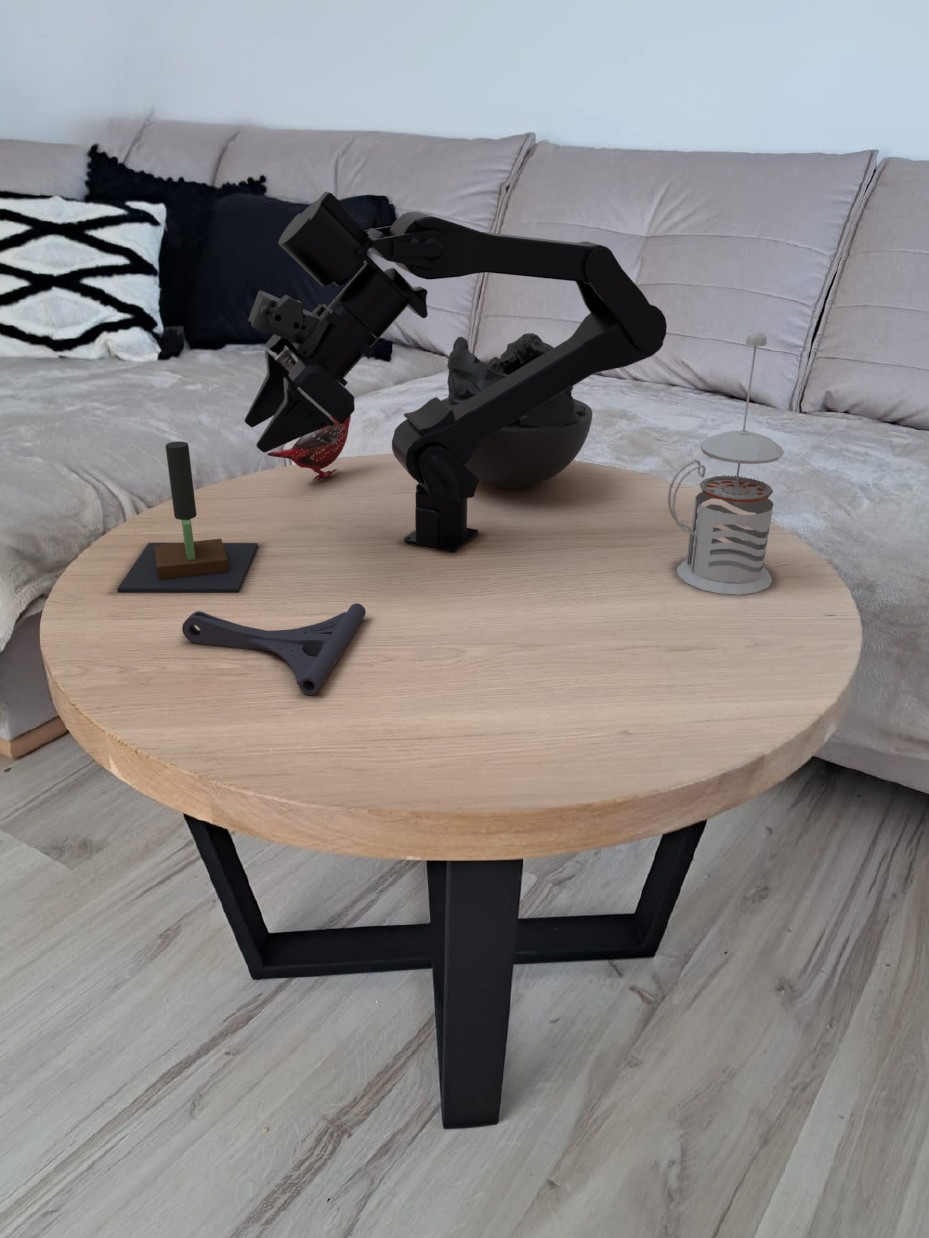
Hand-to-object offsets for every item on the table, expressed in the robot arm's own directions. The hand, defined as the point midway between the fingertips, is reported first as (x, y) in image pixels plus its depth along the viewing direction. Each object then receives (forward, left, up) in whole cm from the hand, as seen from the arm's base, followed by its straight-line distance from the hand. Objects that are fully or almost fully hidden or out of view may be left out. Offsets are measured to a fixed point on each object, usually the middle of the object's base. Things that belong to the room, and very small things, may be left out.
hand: (253, 436), depth 101 cm
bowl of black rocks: (-35, +13, -14) cm, 40 cm away
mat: (+5, -5, -14) cm, 16 cm away
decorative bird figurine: (-24, -10, -14) cm, 29 cm away
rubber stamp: (+5, -5, -13) cm, 15 cm away
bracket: (+16, +12, -14) cm, 24 cm away
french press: (-19, +44, -14) cm, 50 cm away
